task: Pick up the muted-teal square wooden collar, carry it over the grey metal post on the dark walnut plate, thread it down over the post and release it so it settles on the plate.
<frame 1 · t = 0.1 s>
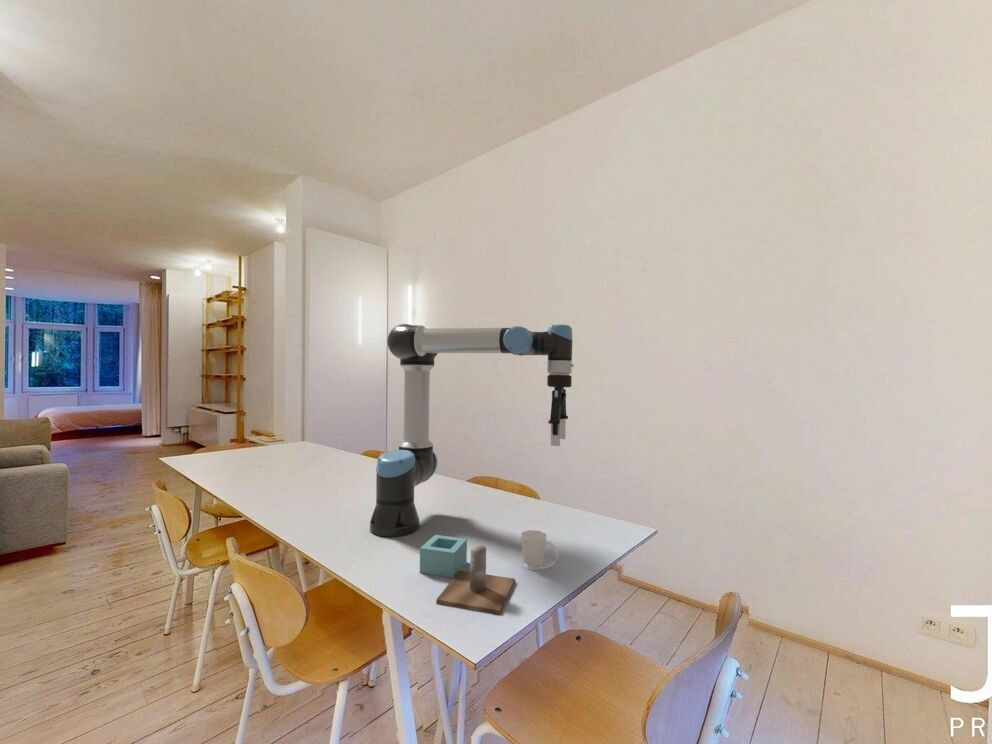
hand: (558, 442, 133), 28 cm above the table, fingers open, 13 cm apart
post stand: (477, 592, 95), on the table
collar: (443, 567, 107), on the table
cup: (538, 568, 108), on the table
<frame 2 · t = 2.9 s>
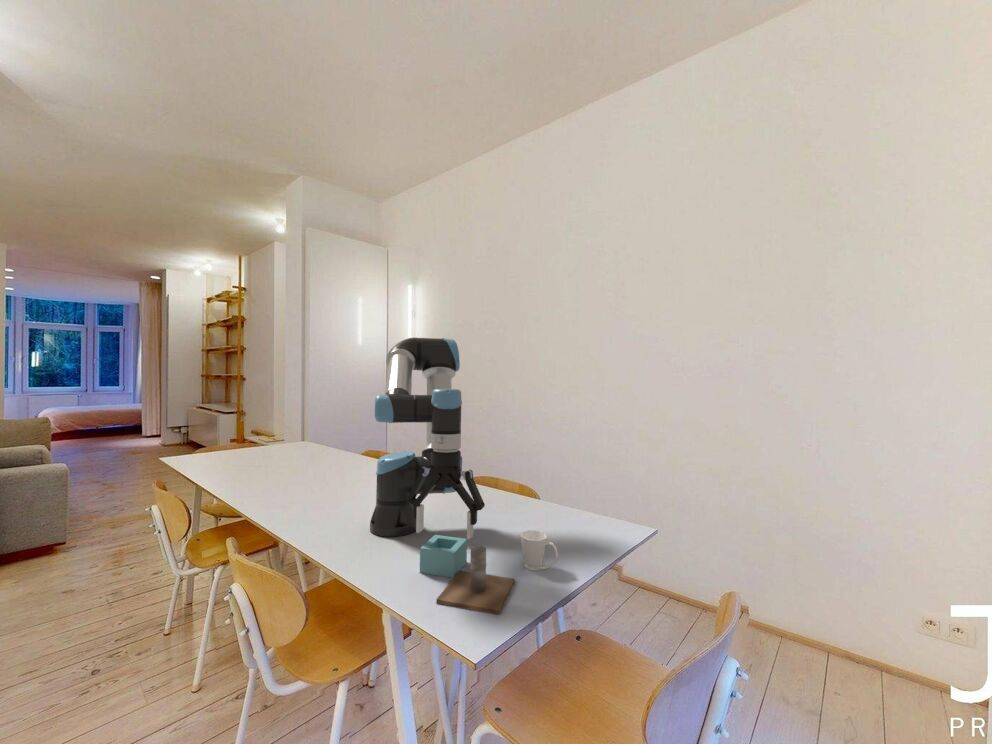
hand: (444, 534, 107), 8 cm above the table, fingers open, 13 cm apart
nothing on the table moved.
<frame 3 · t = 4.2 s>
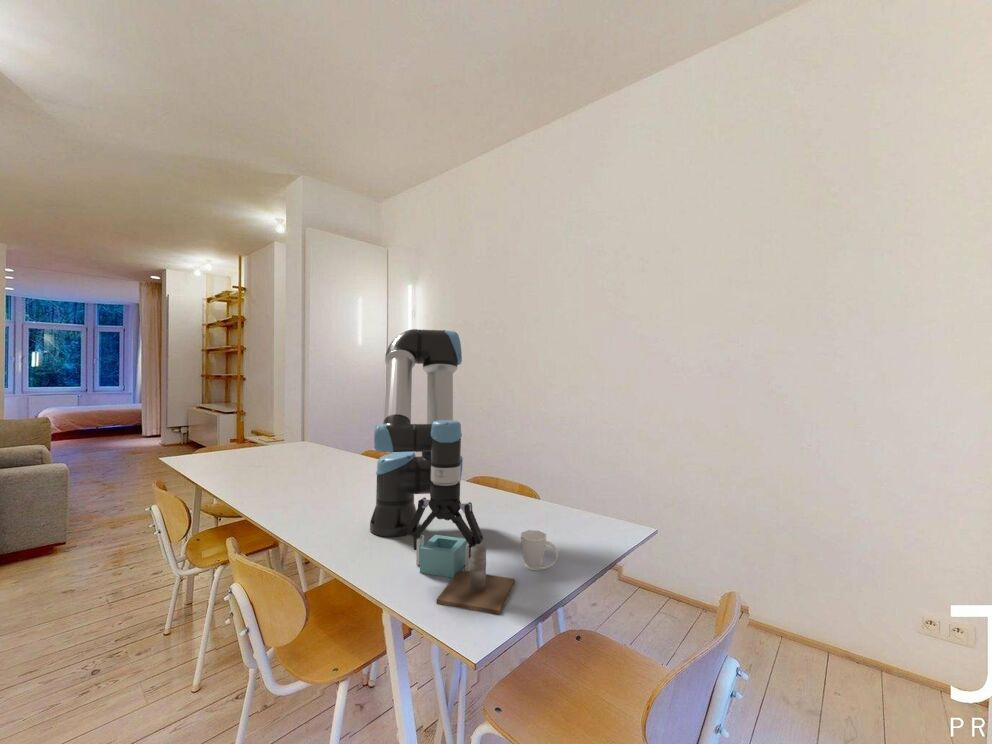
hand: (443, 566, 107), 0 cm above the table, fingers open, 12 cm apart
nothing on the table moved.
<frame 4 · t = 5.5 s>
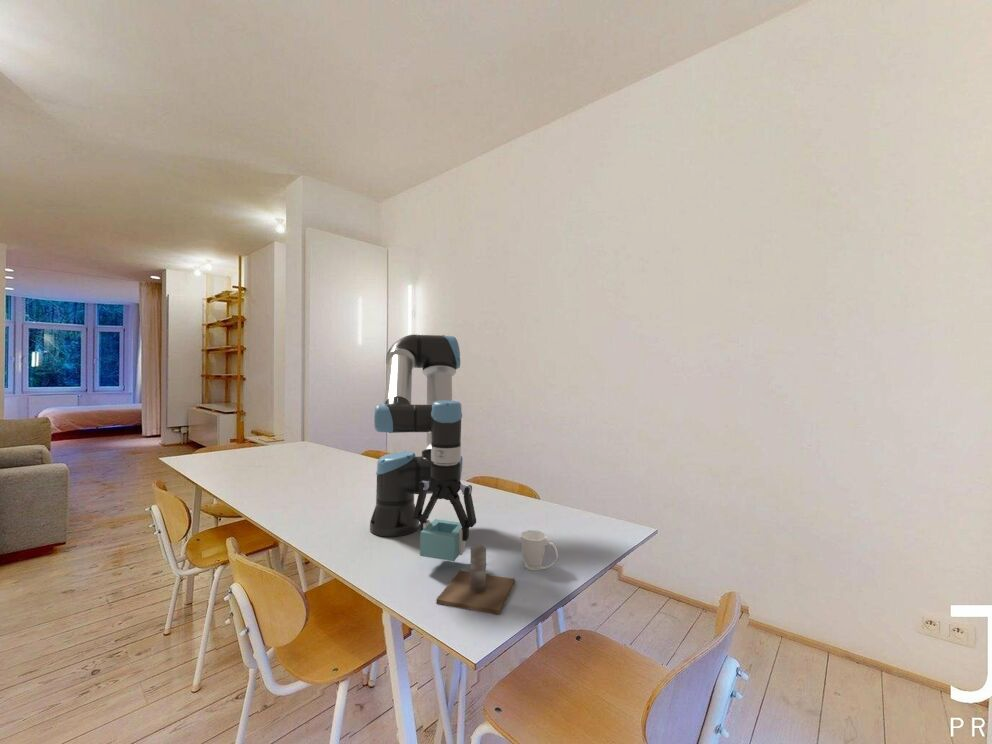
hand: (443, 549, 108), 4 cm above the table, fingers closed on collar, 9 cm apart
collar: (443, 550, 108), point 4 cm above the table, touching gripper
everything else where it was.
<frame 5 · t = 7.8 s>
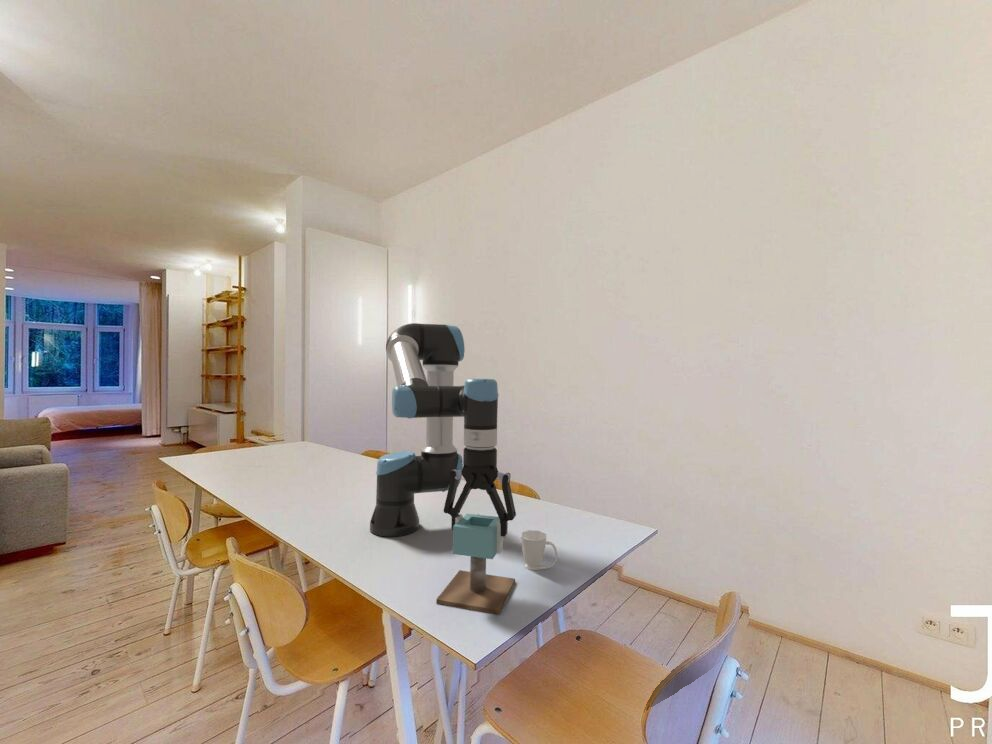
hand: (478, 547, 95), 10 cm above the table, fingers closed on collar, 9 cm apart
collar: (478, 548, 95), point 10 cm above the table, touching gripper
everything else where it was.
when the fingers open (2 cm above the table, at t = 10.2 s): collar drops 1 cm, resting on post stand.
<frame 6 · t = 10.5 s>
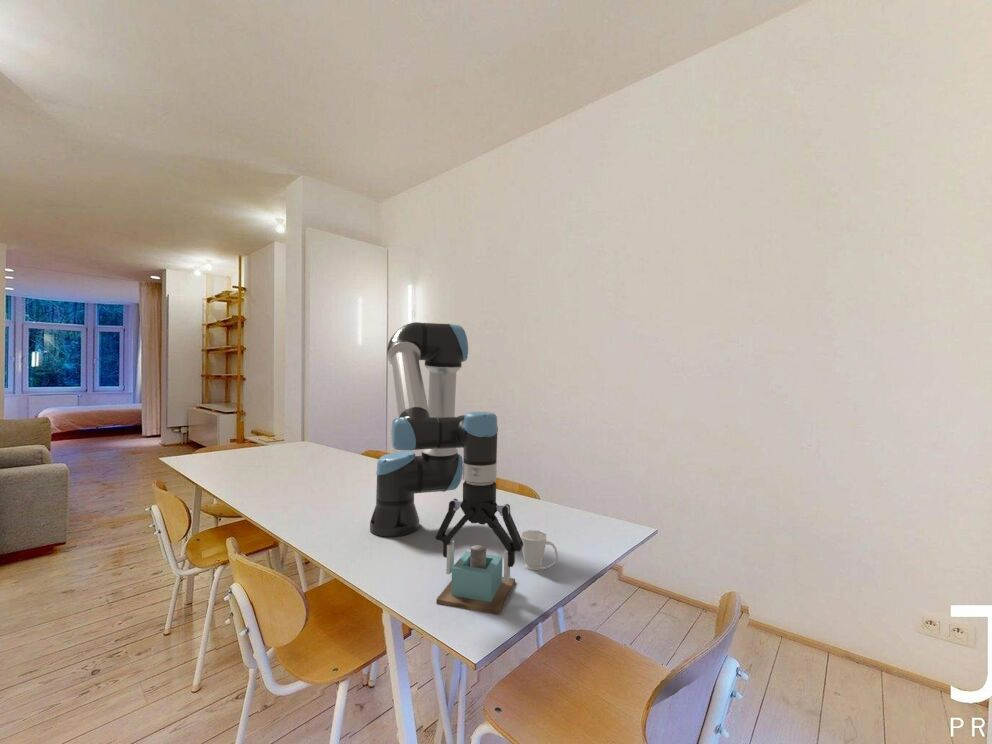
hand: (478, 575, 95), 4 cm above the table, fingers open, 13 cm apart
collar: (477, 588, 95), point 1 cm above the table, touching post stand
everything else where it was.
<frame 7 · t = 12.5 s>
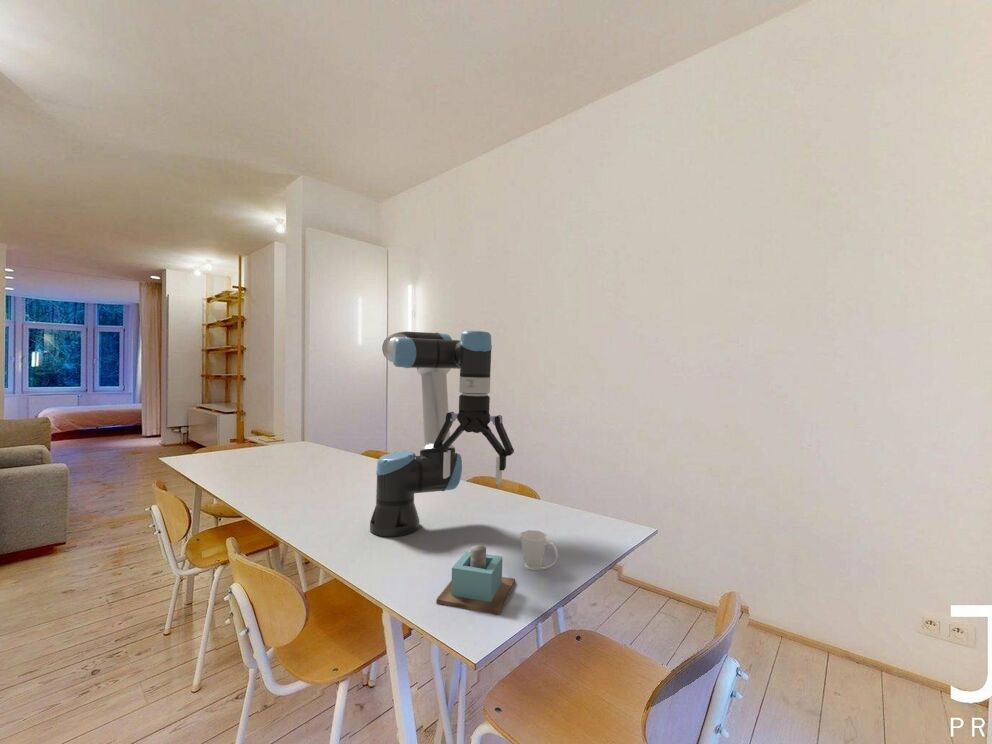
hand: (472, 480, 105), 23 cm above the table, fingers open, 13 cm apart
nothing on the table moved.
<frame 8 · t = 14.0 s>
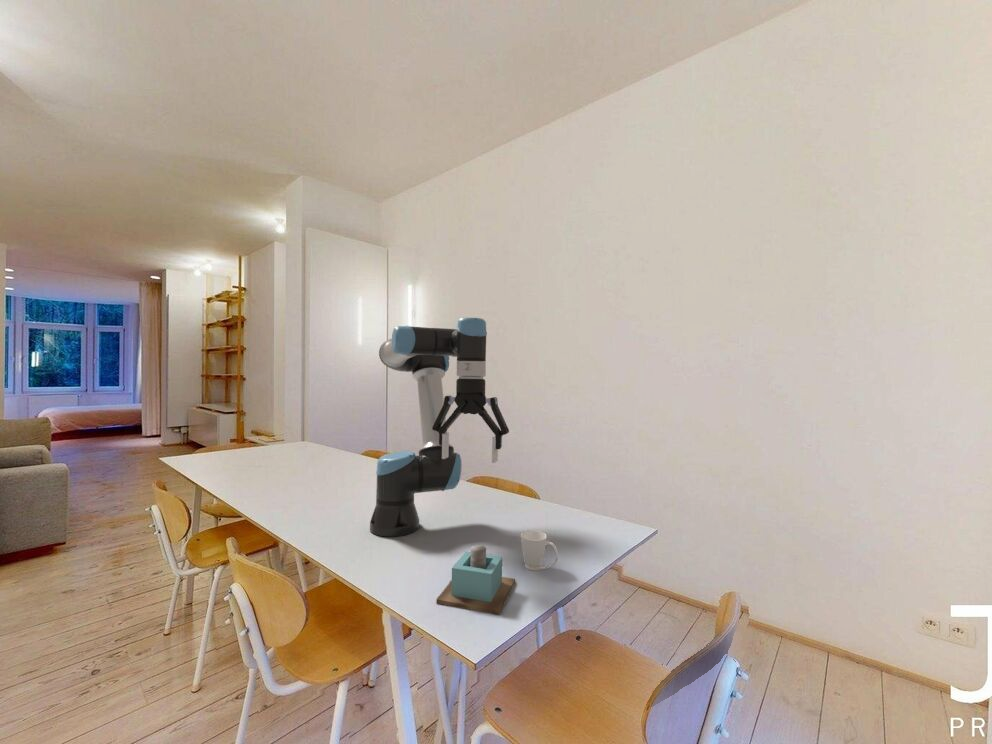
hand: (469, 460, 110), 27 cm above the table, fingers open, 13 cm apart
nothing on the table moved.
at the end: collar 0.1 cm off-centre on the post stand, point 0.8 cm above the post stand's base; the gripper is holding nothing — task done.
